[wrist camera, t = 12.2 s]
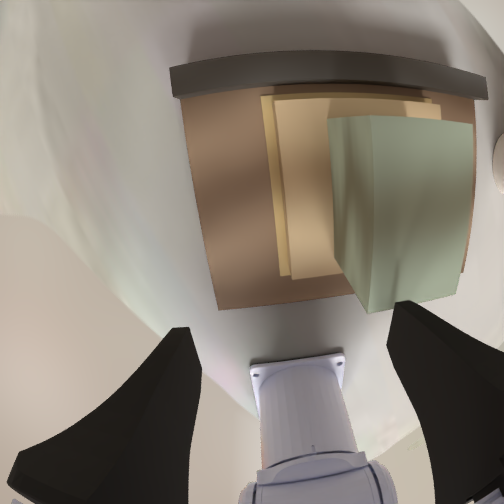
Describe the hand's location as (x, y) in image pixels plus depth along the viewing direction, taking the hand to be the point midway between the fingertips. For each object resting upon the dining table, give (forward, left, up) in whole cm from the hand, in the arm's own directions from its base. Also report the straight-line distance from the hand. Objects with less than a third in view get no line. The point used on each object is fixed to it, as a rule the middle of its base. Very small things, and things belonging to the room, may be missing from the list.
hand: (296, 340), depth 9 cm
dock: (+3, -5, -9) cm, 11 cm away
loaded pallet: (+4, -5, -7) cm, 10 cm away
